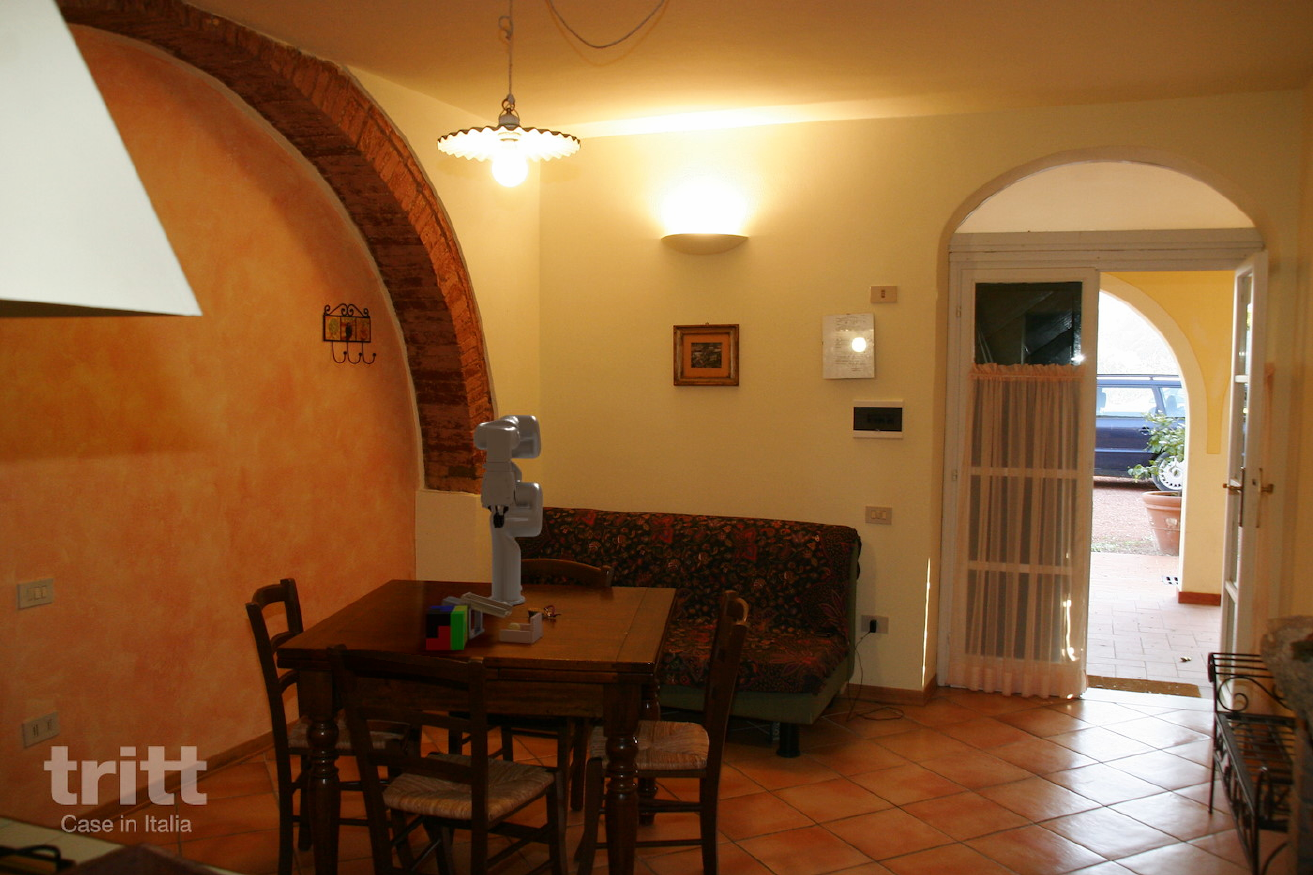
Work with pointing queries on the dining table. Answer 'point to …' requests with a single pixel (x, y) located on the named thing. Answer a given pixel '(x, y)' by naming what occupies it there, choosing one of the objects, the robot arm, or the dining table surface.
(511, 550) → the robot arm
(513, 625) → the ball
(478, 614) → the stand
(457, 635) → the puzzle toy
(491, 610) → the lever
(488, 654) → the dining table surface
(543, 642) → the dining table surface
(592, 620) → the dining table surface
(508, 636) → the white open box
